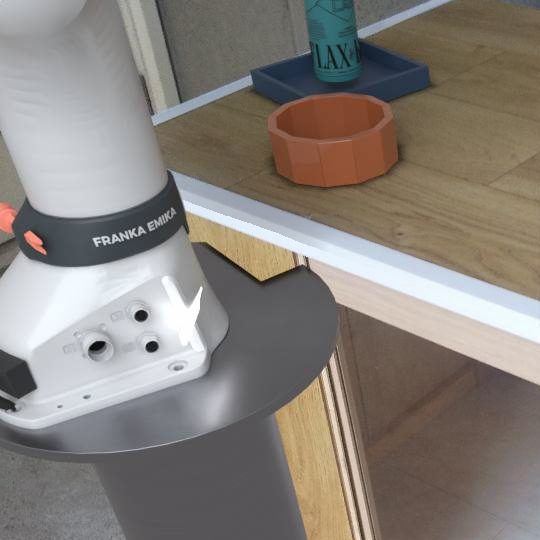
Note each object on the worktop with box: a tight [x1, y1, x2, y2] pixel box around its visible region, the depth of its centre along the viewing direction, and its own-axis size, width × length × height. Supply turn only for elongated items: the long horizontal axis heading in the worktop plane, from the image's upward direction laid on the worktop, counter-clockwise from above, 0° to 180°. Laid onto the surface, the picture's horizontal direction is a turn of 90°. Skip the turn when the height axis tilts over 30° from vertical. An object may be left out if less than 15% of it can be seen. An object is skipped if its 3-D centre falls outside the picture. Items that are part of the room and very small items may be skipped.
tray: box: [249, 37, 431, 106], centre depth 130 cm, size 18×16×3 cm
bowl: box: [267, 92, 400, 188], centre depth 114 cm, size 14×14×5 cm
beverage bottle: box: [303, 0, 363, 82], centre depth 123 cm, size 6×7×20 cm
